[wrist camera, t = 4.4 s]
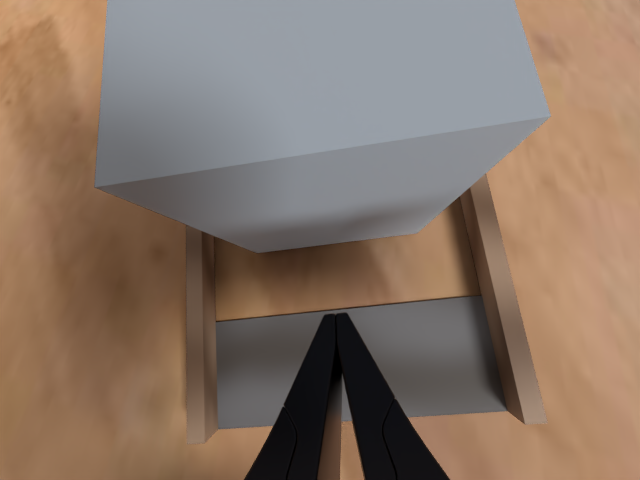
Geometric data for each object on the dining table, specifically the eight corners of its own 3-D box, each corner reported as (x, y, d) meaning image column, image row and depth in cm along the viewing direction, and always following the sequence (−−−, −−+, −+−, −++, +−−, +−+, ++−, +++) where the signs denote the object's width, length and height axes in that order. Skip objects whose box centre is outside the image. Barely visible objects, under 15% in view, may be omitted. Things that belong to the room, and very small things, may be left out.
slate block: (416, 233, 16) (550, 116, 5) (256, 253, 17) (94, 187, 6) (400, 143, 17) (482, -100, 7) (251, 166, 18) (108, -15, 7)
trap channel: (527, 409, 14) (547, 423, 13) (202, 430, 16) (186, 444, 14) (416, -61, 21) (421, -88, 19) (195, -12, 22) (185, -34, 21)
